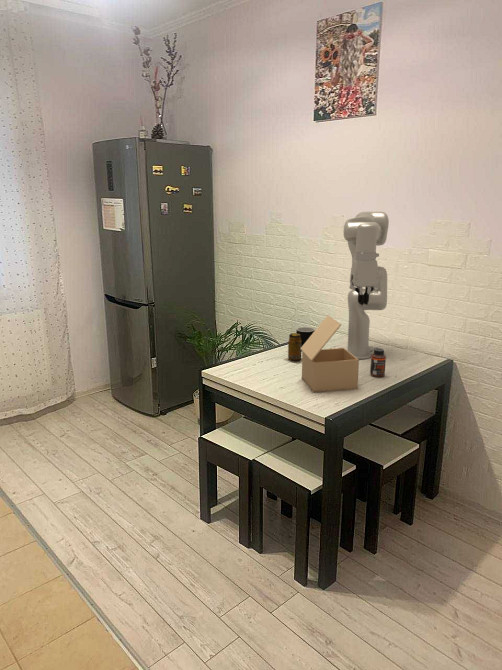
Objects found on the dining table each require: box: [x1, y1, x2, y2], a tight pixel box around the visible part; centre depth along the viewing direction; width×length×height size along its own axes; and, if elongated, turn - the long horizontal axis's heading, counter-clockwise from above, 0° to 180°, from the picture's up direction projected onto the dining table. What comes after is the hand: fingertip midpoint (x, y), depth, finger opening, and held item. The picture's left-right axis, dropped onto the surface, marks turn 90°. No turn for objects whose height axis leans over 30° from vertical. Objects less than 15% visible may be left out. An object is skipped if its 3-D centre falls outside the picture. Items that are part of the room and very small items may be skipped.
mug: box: [295, 326, 316, 352], centre depth 252 cm, size 12×9×10 cm
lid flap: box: [300, 314, 342, 360], centre depth 201 cm, size 18×15×1 cm
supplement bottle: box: [369, 347, 387, 378], centre depth 214 cm, size 6×6×11 cm
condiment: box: [284, 332, 302, 364], centre depth 234 cm, size 7×8×12 cm
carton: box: [301, 347, 360, 393], centre depth 205 cm, size 18×16×12 cm
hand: (363, 303), depth 200 cm, fingers closed
